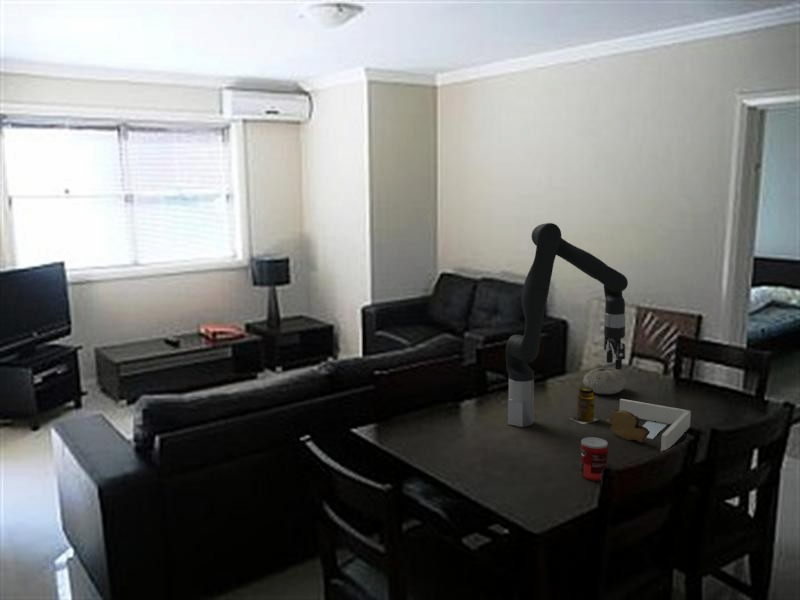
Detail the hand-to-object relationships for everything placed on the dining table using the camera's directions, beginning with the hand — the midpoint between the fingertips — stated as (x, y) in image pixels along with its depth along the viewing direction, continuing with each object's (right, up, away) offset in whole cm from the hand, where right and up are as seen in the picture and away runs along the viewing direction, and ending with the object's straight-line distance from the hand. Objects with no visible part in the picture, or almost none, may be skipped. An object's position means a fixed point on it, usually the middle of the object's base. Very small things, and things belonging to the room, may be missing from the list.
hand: (613, 365), depth 263 cm
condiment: (-12, -20, -2) cm, 24 cm away
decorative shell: (+6, -14, +31) cm, 35 cm away
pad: (+9, -22, -14) cm, 28 cm away
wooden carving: (-2, -24, -22) cm, 32 cm away
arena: (+5, -22, -16) cm, 28 cm away
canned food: (-22, -29, -51) cm, 63 cm away
